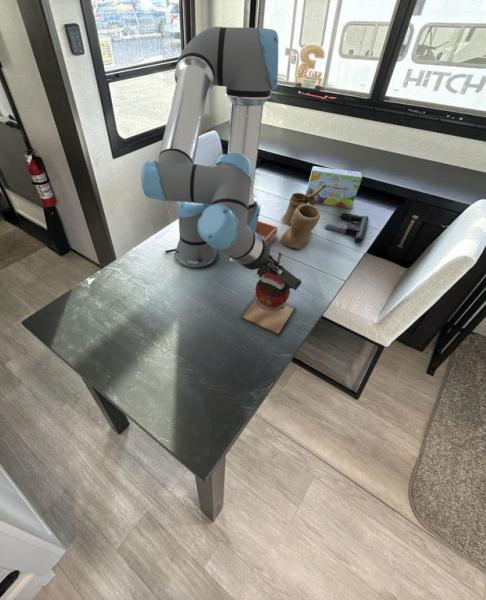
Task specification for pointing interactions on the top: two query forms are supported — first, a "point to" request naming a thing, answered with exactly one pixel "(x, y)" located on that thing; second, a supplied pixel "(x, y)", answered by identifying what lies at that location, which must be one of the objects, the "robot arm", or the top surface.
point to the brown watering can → (299, 203)
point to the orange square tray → (266, 231)
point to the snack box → (334, 186)
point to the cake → (271, 291)
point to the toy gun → (352, 230)
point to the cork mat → (268, 317)
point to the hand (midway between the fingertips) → (282, 275)
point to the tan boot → (301, 226)
